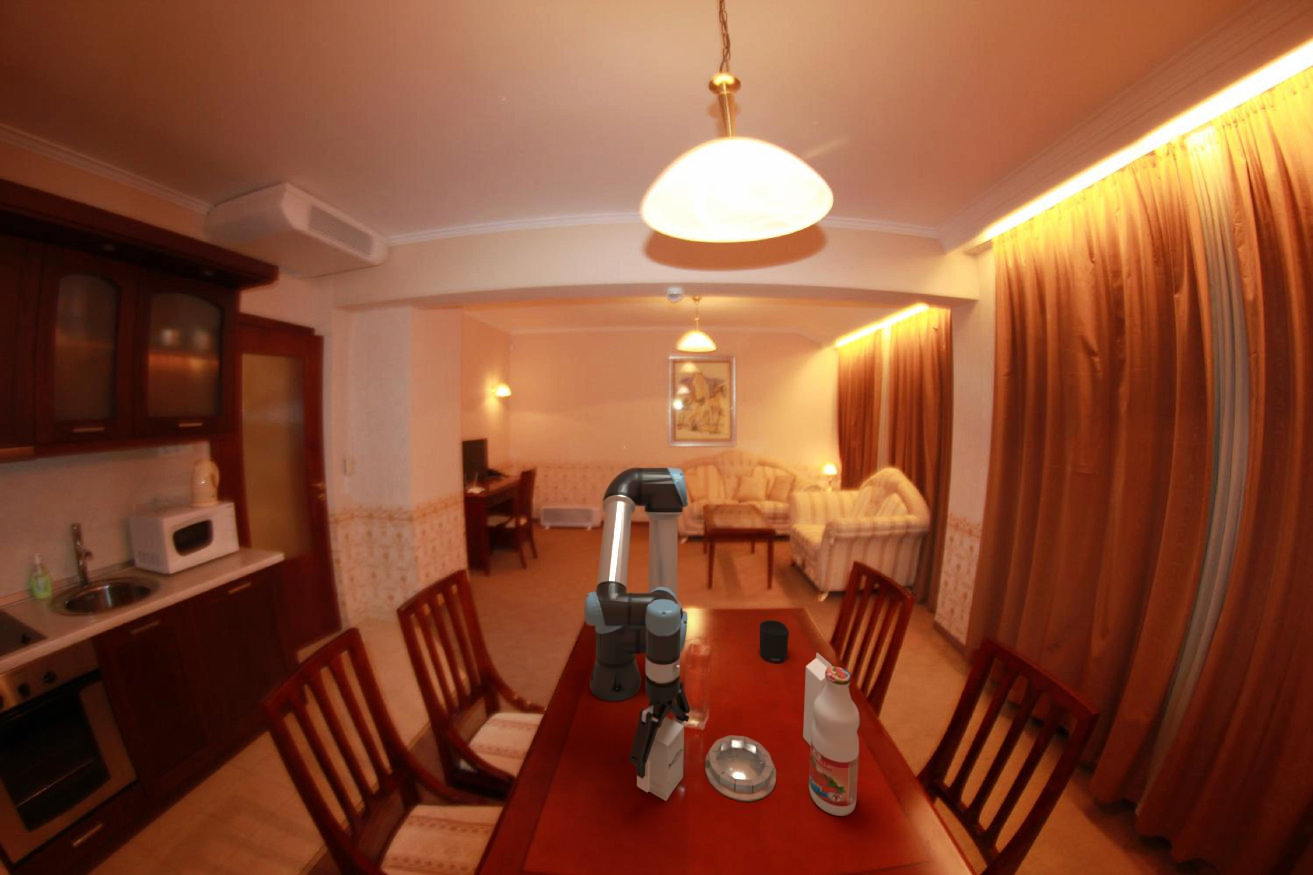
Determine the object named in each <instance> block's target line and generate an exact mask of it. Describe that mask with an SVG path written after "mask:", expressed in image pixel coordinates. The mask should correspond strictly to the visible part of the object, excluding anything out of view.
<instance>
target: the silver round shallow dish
mask: <svg viewBox="0 0 1313 875" xmlns="http://www.w3.org/2000/svg"><path fill="white" fill-rule="evenodd" d="M704 761H705V762H704V771H705V775H706V777H707V780H708V782H709V783H710V784H711V786H712V787H713V788H714V789H715V790H716V791H717V792H718V793H720V794H722V795H723V796H724V797H727V798H729V799H731V800H734V801H737V802H747V803H748V802H749V803H750V802H751V803H752V802H756V801H760V800H762V799H764V798H767V796H769V795H770V794H771V793H772V791H773V790H774V788H775V786H776V782H777V770H776V767H775V766H776V765H775V764H774V762H773V760H772V756H771V755H770V752H769V751H768V750H766V749H765V747H764V746H763V745H762V744H761V743H759V742H758V741H756V740H754V739H752V738H750V737H747V736H744V735H732V734H731V735H726V736H723V737H721V738H719V739H717V740H715V741H714V743H713V744H712V746H711V747H710V748H709V751H708V752H707V754H706V757H705V759H704Z"/></svg>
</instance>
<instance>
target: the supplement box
mask: <svg viewBox="0 0 1313 875" xmlns="http://www.w3.org/2000/svg"><path fill="white" fill-rule="evenodd" d="M652 718H653V721H655V722H658V720H657V719H655V718H654V717H652ZM684 741H685V724H684V725H682V724H679V723H677V722H675V721H673V719H671V718H669V717H667V716H666V717H665V718H664V719H663V722H662V725H661V727H660V728H658V730H657V733H656V736H655V739H654V742H653V745H652V748H651V751H650V754H649V757H648V760H650V790H649V791H648V792H650V793H651V794H652V795H655V796H656V797H658V798H660V799H661V800H664V801H665V802H667V800H668V799H669V798H670V796H671V794H672V793H673V791H674V790H675V789H676V787H677V786H678V784H679V783H680V782H681V781H682V780H683V778H684V751H685V750H684V749H685V747H684V746H685V742H684Z"/></svg>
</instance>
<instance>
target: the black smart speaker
mask: <svg viewBox="0 0 1313 875" xmlns="http://www.w3.org/2000/svg"><path fill="white" fill-rule="evenodd" d="M789 634H790V630H789V629H788V628H787V626H786V625H785V623H783V622H781V621H778V620H773V619H771V620H770V619H769V620H764V621H763V620H762V622H760V624H759V654H760V657H761V658H762V659H763V660H764V661H767V662H769V663H771V664H781V663H783V662H785V661H786V660H787V657H788V650H789V649H788V648H789V638H790V637H789V636H790V635H789Z"/></svg>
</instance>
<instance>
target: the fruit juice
mask: <svg viewBox="0 0 1313 875" xmlns="http://www.w3.org/2000/svg"><path fill="white" fill-rule="evenodd" d="M825 679H826V683H825V686H824V688H823V690H822V692H821V693H820V694H819V695H818V696H817V697H816V699H815V701H814V704H813V714H814V718H815V721H814V723H813V725H812V731H811V746H810V756H809V779H808V780H809V782H808V783H809V784H808V788H809V793H810V796H811V798H812V801H813V802H814V803H815V804H816V805H817V806H818V807H819V808H820V809H821V810H822V811H824V812H826V813H828V814H830V815H834V816H840V817H844V816H848V815H849V814H852V812H853V811H854V810H855V808H856V804H857V796H858V794H857V792H858V776H859V775H858V773H859V772H858V771H859V754H860V742H859V741H860V740H859V735H858V732H857V731H858V729H859V726H860V712H859V709H858V707H857V705H856V704H855V702H854V701H853V699H852V697H851V693H850V688H849V686H850V684H851V674H850V673H849V671H848V670H846V669H844V668H842V667H840V666H834V665H832V667H828V668H827V669H826V671H825Z"/></svg>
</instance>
